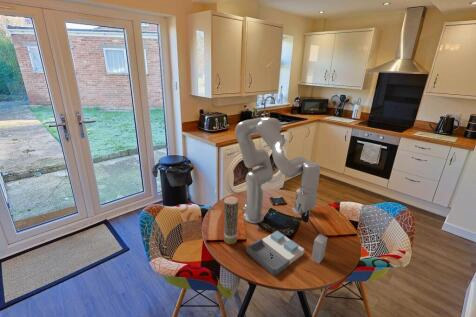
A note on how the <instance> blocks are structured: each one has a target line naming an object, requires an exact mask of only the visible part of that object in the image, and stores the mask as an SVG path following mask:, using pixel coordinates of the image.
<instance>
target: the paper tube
mask: <svg viewBox="0 0 476 317" xmlns="http://www.w3.org/2000/svg"><path fill="white" fill-rule="evenodd" d="M223 200H224V202H223V203H224V204H223V205H224V207H223V208H224V209H223V210H224V211H223V213H224V214H223V218H224V220H223V222H224V223H223V232H224V233H223V241H224V243H226V245H234V244H236V243H237V242H238V218H239V217H238V215H239V214H238V213H239V198H238V197H236V196H232V195H231V196H227V197H225V198H224V199H223Z"/></svg>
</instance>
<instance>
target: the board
mask: <svg viewBox="0 0 476 317" xmlns="http://www.w3.org/2000/svg"><path fill="white" fill-rule="evenodd" d="M270 237H271V234H269V235H267V236H266V237H264V238H261V239H262V245H264V246H265V247H266V248H268V249H269V250H270V251H271V252H273V253H274V254H275V255H277V256H278V257H279V258H280V259H282V260H283V261H286V260H287V259H289V260H290V261H289V265H291V264H292V263H294V262H295V261H296V260H298V259H299V258H301V257H302V256H303V255H304V253H305V248H304V247H302V246H300V245H299V246H298V249H297V250H296V251H295V252H293V253H292V254H291V253H290V252H289V251H287V250H286V249H284V244H285V243H286V242H288V241H289V240H291V239H290V238H288V237H287V236H286V235H284V240H282V241H281V242H279V243H276V242H275V241H274V240H272V239H271V238H270Z"/></svg>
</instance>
